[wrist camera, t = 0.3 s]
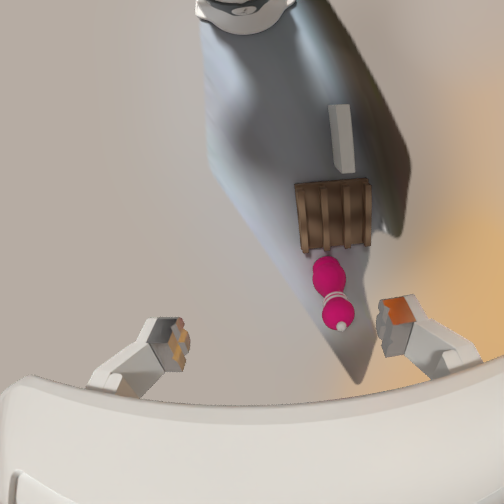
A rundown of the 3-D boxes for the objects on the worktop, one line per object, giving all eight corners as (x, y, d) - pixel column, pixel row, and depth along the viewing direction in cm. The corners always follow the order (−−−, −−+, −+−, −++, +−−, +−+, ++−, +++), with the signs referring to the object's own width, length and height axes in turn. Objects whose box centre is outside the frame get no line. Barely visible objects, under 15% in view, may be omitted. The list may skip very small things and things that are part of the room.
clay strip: (327, 104, 46) (335, 104, 40) (339, 104, 46) (349, 104, 40) (333, 165, 52) (342, 173, 46) (345, 164, 51) (355, 172, 45)
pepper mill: (313, 283, 65) (323, 347, 48) (308, 257, 62) (319, 319, 44) (343, 277, 64) (362, 339, 46) (339, 251, 61) (362, 310, 43)
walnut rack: (294, 184, 54) (295, 189, 51) (366, 177, 52) (372, 182, 49) (300, 246, 61) (302, 255, 58) (366, 240, 59) (371, 247, 56)
